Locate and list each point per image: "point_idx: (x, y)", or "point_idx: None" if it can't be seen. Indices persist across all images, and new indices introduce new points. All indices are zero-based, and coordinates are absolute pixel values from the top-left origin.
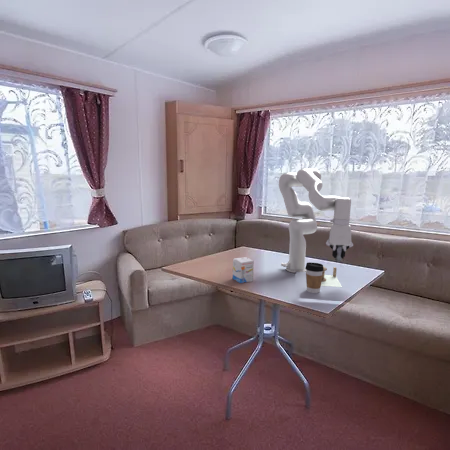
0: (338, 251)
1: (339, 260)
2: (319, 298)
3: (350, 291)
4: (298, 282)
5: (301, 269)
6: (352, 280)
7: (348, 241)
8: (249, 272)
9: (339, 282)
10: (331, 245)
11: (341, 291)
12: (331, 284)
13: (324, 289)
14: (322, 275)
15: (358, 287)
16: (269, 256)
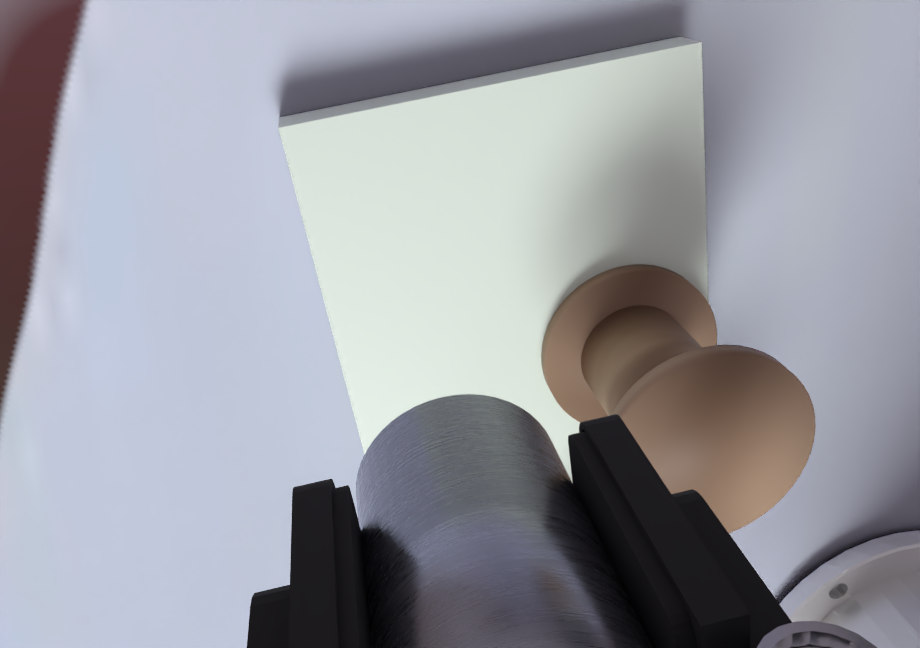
0: (564, 637)
1: (420, 410)
2: None
3: (137, 103)
4: (914, 196)
5: (850, 617)
6: (168, 599)
7: None
8: None
9: (338, 345)
10: None
11: (283, 39)
12: (460, 195)
13: (557, 28)
14: (635, 348)
15: (39, 352)
16: None
